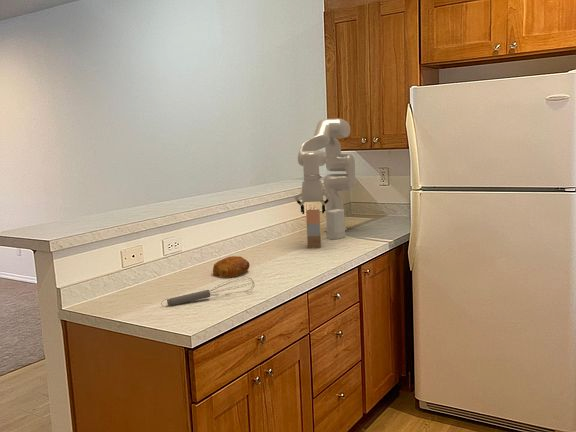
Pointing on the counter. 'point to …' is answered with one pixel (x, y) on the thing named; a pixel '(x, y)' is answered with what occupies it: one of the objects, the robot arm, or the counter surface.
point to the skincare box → (335, 224)
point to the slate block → (313, 229)
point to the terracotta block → (313, 216)
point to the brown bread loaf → (230, 267)
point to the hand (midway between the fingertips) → (313, 213)
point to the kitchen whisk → (198, 295)
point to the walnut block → (314, 241)
